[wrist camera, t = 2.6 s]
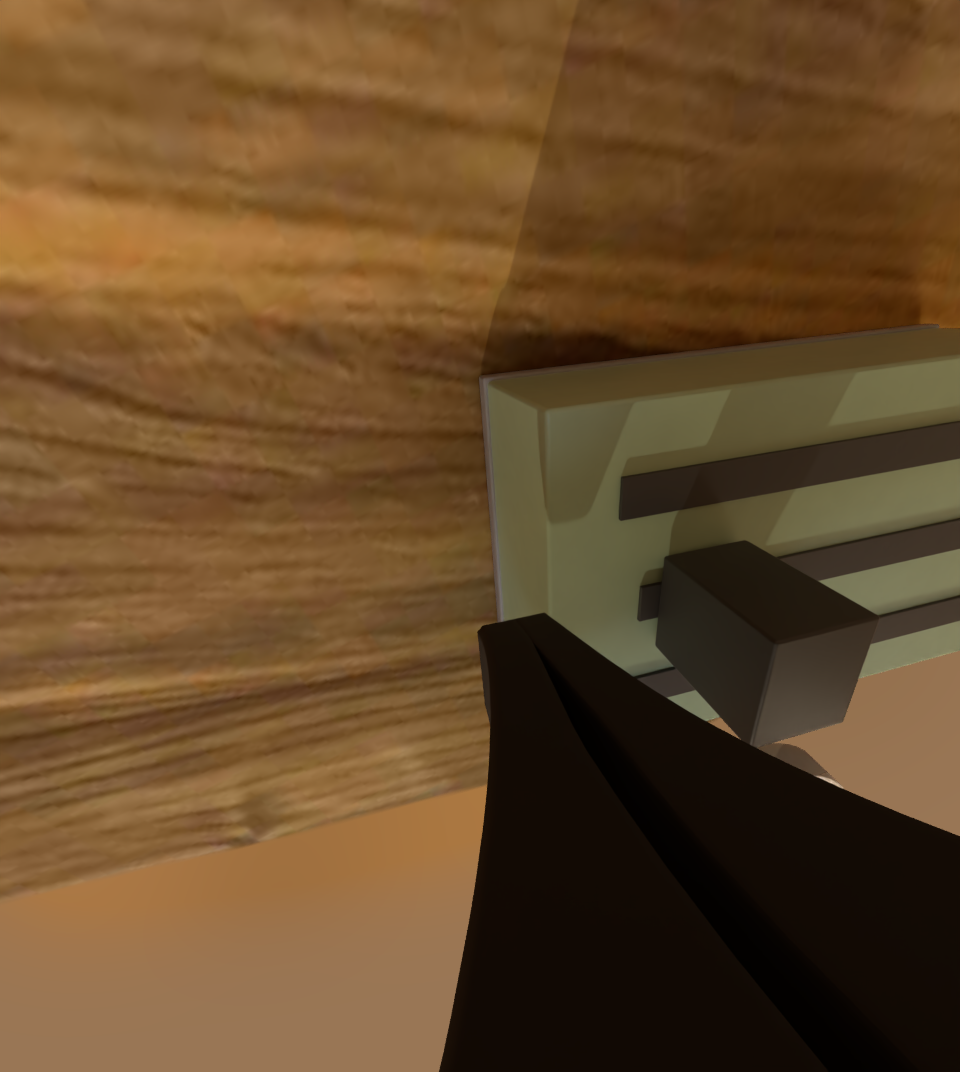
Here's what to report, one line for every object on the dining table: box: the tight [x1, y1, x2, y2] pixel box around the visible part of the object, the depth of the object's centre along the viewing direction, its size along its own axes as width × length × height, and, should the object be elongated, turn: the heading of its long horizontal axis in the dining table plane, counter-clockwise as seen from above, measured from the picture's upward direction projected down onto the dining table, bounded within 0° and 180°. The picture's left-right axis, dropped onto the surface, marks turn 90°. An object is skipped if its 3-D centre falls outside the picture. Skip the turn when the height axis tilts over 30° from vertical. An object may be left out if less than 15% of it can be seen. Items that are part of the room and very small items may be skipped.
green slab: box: [479, 324, 960, 721], centre depth 13 cm, size 9×14×5 cm, turn 95°
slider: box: [655, 540, 880, 748], centre depth 9 cm, size 2×2×3 cm
